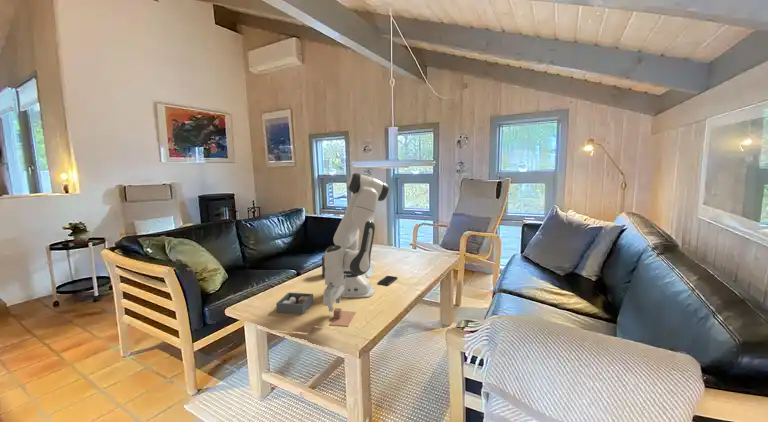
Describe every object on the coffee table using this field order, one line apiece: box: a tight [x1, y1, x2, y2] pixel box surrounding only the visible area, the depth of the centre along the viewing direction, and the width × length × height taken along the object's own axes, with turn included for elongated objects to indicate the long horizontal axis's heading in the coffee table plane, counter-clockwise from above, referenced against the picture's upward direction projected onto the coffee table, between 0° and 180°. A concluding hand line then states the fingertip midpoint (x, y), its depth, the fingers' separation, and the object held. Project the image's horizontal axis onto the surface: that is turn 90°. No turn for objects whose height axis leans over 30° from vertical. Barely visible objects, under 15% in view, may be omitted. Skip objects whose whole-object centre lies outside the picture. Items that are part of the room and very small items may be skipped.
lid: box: [328, 307, 357, 328], centre depth 162 cm, size 15×15×5 cm
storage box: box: [275, 292, 315, 315], centre depth 173 cm, size 14×14×6 cm
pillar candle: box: [321, 253, 325, 278], centre depth 222 cm, size 10×10×15 cm
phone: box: [376, 275, 398, 287], centre depth 212 cm, size 8×1×15 cm
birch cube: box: [299, 296, 308, 304], centre depth 176 cm, size 4×4×4 cm
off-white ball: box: [289, 297, 296, 304], centre depth 177 cm, size 4×4×4 cm
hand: (334, 306), depth 162 cm, fingers open, 8 cm apart
